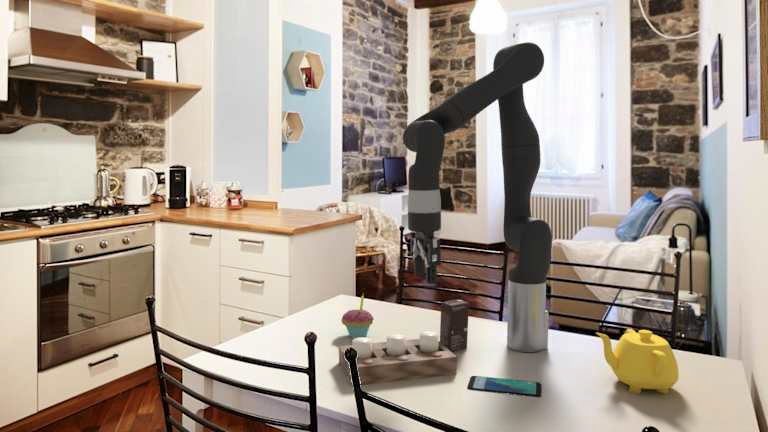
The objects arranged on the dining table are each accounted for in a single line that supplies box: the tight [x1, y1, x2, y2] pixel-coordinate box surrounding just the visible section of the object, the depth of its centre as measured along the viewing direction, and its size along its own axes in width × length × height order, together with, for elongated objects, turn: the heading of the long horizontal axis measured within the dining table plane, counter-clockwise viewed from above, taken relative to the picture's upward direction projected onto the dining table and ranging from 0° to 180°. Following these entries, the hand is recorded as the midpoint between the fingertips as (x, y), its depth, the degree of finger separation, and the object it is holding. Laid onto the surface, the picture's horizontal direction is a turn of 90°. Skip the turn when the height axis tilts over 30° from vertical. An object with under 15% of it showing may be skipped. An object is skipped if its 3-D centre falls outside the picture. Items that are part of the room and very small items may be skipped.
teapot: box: [595, 328, 680, 394], centre depth 119 cm, size 14×14×12 cm
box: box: [439, 298, 470, 352], centre depth 142 cm, size 6×4×12 cm
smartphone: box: [466, 375, 542, 398], centre depth 118 cm, size 7×1×15 cm
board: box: [338, 338, 458, 387], centre depth 129 cm, size 24×14×4 cm, turn 105°
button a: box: [419, 331, 440, 353], centre depth 130 cm, size 4×4×4 cm
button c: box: [351, 336, 373, 360], centre depth 126 cm, size 4×4×4 cm
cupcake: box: [341, 292, 374, 339], centre depth 152 cm, size 9×8×12 cm
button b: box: [386, 333, 407, 357], centre depth 128 cm, size 4×4×4 cm
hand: (425, 279), depth 129 cm, fingers open, 8 cm apart
